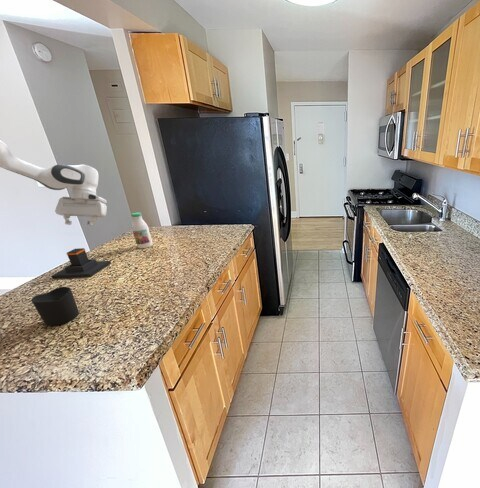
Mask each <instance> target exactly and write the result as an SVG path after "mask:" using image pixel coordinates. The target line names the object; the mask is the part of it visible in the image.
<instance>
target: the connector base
mask: <svg viewBox="0 0 480 488" xmlns="http://www.w3.org/2000/svg"><path fill="white" fill-rule="evenodd" d="M88 259H89V262H88V263H86V264H85V265H83V266H75V267H72V265H71V263H70V264H68V265H67V266H65V267H64V268H63V269H60V270H59V271H57V272H55V273H53V274H52V275H51V278H52V279H54V280H55V279H73V278H76V279H77V278H91V277H93V276H94V275H96V274H97V273H99V272H101V271H102V270H103V269H105V268H106V267H108V266H110V265H111V264H112V262H111V260H99V261H98V260H97V259H96V258H88Z"/></svg>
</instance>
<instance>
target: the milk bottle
mask: <svg viewBox="0 0 480 488" xmlns="http://www.w3.org/2000/svg"><path fill="white" fill-rule="evenodd" d="M130 215H131V218H132V224H131V230H132V234H133V237H134V241H135V245H136V247H137V249H147V248H148V249H149V248H150V247H152V246H153V245H154V243H153V240H152V236H151V232H150V229H149V226H148V224H147V222H146V221H145V220H144V219H143V215H142V212H132V213H131V214H130Z"/></svg>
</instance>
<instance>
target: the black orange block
mask: <svg viewBox="0 0 480 488" xmlns="http://www.w3.org/2000/svg"><path fill="white" fill-rule="evenodd" d="M66 256H67V258H68V259H69V262H70V264H71V265H72V267H75V266H83V265H85V264H86V263H88V262H89V259H90V258H89V257H88V255H87V252H86V249H85V248H83V247H82V248H81V247H80V248H79V247H77V248H73V249H71V250H70V251H67V252H66Z"/></svg>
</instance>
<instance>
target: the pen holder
mask: <svg viewBox="0 0 480 488" xmlns="http://www.w3.org/2000/svg"><path fill="white" fill-rule="evenodd" d="M31 302H32V304H33V307H35V309H36V311H37V313H38V314H39V316H40V318H41V320H42V322H43V324H45V325H46V326H49V327H57V326H61V325H64V324H67V323H69V322H71V321H73V320H74V319H76V318H77V317H78V316H79V314H80V311H79V307H78V305H77V302H76V299H75V296H74V293H73V291H72V289H71V287H69V286H59V287H56V288H54V289H51V290H50V291H48V292H45V293H40V294H36V295H34V296H33V297H32V298H31Z"/></svg>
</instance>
